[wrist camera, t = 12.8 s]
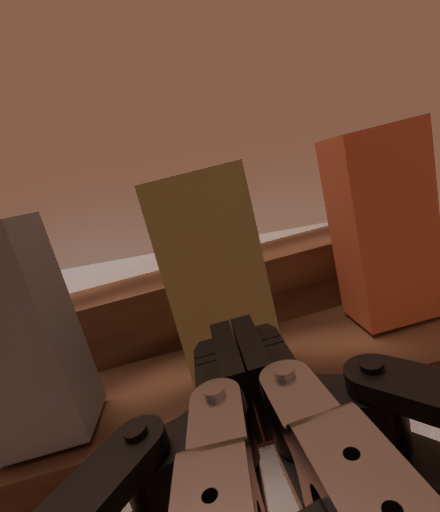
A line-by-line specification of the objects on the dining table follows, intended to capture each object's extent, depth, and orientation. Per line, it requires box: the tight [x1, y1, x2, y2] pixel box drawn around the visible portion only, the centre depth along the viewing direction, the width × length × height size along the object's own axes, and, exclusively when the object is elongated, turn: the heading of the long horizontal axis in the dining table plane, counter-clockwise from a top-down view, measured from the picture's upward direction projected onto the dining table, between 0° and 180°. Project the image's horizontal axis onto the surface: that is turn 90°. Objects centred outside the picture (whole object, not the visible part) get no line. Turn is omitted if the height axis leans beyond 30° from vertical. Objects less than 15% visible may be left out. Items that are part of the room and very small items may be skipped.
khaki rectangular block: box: [135, 159, 280, 389], centre depth 19 cm, size 4×5×12 cm
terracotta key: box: [315, 113, 440, 335], centre depth 22 cm, size 4×5×12 cm
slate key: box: [0, 212, 107, 468], centre depth 18 cm, size 4×5×12 cm
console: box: [0, 226, 440, 512], centre depth 24 cm, size 15×32×7 cm, turn 96°
